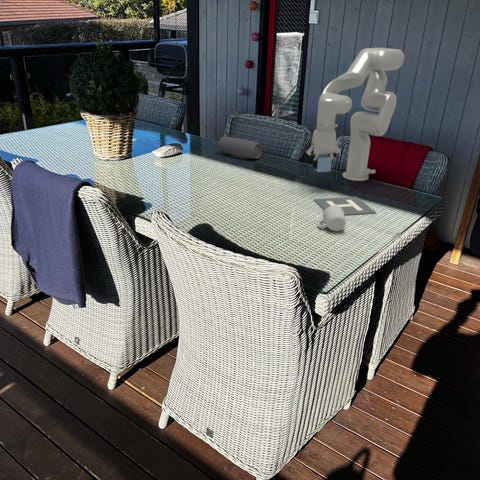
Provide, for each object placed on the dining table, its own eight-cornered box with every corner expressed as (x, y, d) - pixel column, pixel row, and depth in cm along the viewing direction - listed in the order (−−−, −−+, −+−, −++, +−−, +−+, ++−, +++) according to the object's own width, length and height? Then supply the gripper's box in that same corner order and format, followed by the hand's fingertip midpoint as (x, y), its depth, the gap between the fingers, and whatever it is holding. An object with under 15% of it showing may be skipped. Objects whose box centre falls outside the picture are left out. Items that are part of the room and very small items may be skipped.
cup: (316, 223, 176) (312, 213, 183) (323, 240, 180) (320, 229, 186) (343, 211, 173) (339, 201, 180) (351, 229, 177) (346, 218, 184)
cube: (325, 167, 217) (326, 154, 214) (330, 171, 212) (332, 158, 209) (313, 167, 216) (314, 154, 213) (317, 172, 210) (318, 158, 208)
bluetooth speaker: (261, 158, 262) (262, 140, 258) (252, 162, 255) (253, 144, 251) (227, 151, 273) (227, 134, 269) (217, 155, 266) (217, 137, 262)
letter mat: (356, 197, 212) (356, 196, 211) (376, 213, 196) (376, 212, 196) (313, 200, 207) (313, 199, 207) (330, 216, 192) (330, 215, 191)
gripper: (340, 124, 210) (336, 164, 218) (303, 126, 206) (300, 166, 215) (348, 128, 203) (343, 169, 212) (309, 130, 200) (306, 172, 208)
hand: (322, 167), depth 213 cm, fingers closed on cube, 6 cm apart
